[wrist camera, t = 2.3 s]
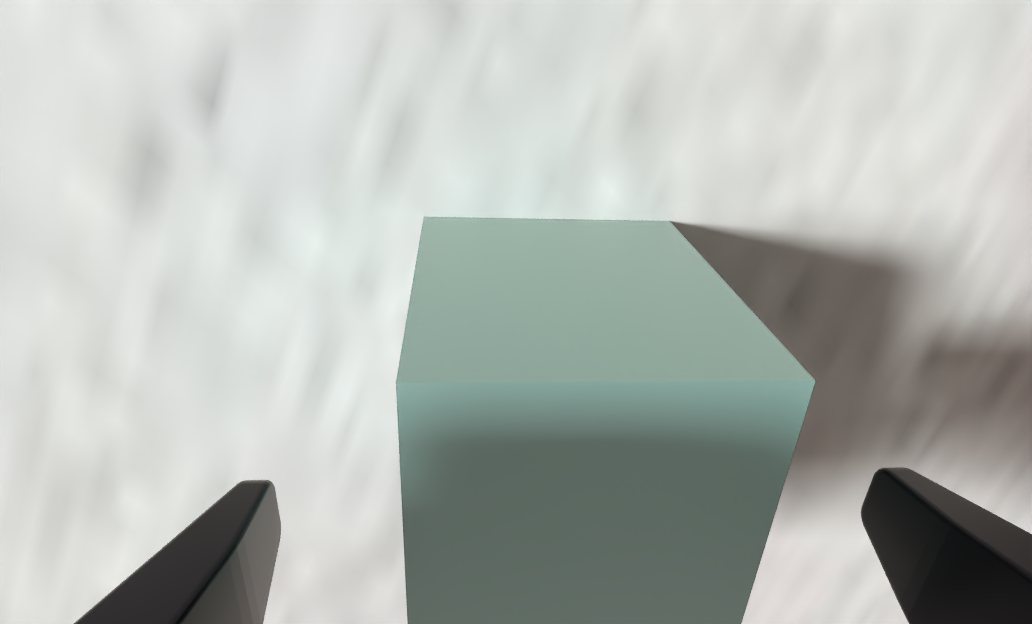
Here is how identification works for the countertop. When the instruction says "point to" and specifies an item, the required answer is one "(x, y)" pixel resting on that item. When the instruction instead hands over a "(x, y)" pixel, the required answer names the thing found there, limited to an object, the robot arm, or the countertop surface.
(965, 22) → the countertop surface
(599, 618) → the mint green box
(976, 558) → the robot arm
